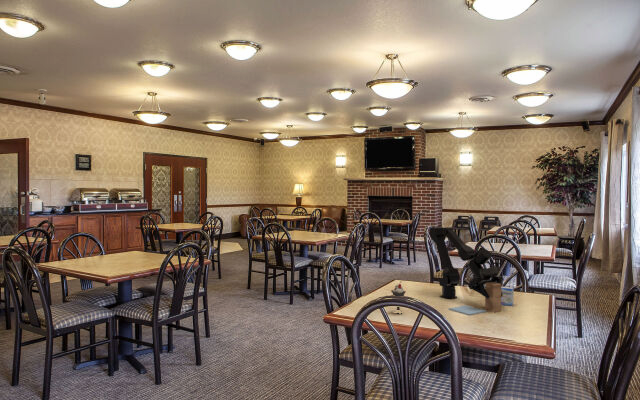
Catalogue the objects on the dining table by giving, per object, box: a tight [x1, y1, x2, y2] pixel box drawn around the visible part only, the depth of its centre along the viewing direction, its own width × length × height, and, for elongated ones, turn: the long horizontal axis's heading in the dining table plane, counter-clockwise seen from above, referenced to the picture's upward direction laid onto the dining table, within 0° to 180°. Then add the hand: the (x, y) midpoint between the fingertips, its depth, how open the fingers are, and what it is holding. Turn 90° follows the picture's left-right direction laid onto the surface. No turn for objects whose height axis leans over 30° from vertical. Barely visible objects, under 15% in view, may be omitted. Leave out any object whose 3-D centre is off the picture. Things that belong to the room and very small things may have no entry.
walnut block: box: [484, 282, 502, 313], centre depth 220 cm, size 5×5×13 cm
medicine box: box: [501, 286, 515, 307], centre depth 233 cm, size 8×4×9 cm, turn 62°
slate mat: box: [448, 304, 487, 316], centre depth 219 cm, size 12×12×1 cm
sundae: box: [390, 281, 406, 311], centre depth 214 cm, size 7×7×15 cm
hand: (495, 297), depth 219 cm, fingers open, 8 cm apart
